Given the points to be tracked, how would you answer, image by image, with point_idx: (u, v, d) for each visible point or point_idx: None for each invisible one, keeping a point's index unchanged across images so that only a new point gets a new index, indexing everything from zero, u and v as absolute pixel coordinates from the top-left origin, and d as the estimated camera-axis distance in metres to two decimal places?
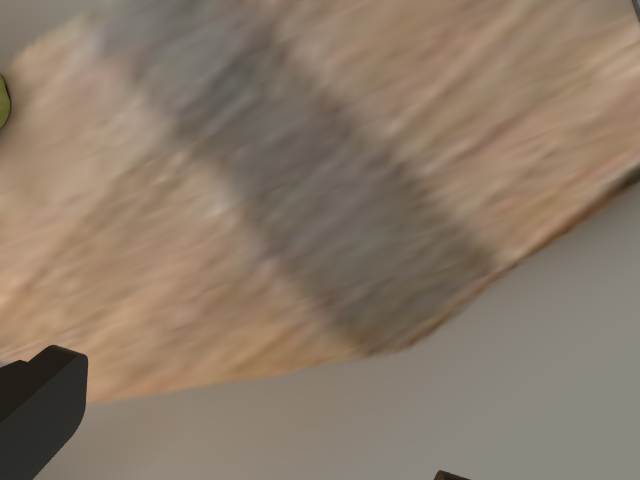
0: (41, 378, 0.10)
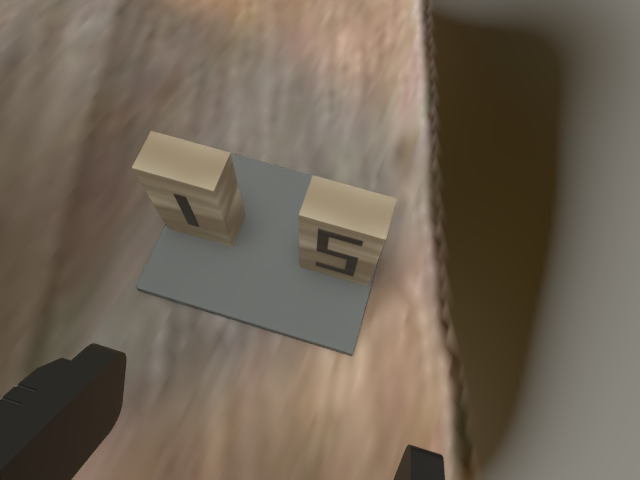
0: (86, 375, 0.10)
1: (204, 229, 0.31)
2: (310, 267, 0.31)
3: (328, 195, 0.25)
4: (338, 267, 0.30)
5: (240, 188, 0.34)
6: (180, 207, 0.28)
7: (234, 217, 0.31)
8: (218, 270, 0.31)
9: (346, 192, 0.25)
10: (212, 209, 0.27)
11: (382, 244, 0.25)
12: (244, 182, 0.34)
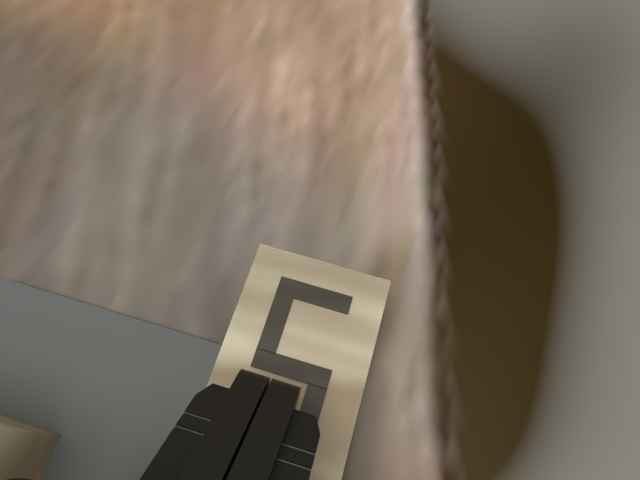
0: (249, 402, 0.10)
1: None
2: None
3: None
4: None
5: (59, 371, 0.17)
6: None
7: (2, 479, 0.14)
8: None
9: None
10: None
11: (384, 298, 0.16)
12: (70, 357, 0.17)
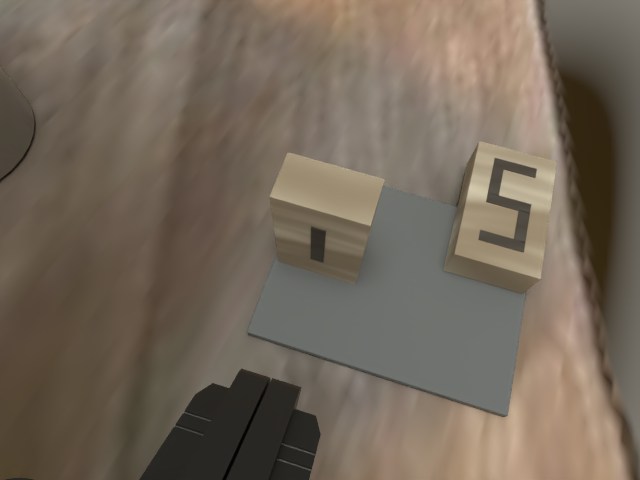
0: (248, 402, 0.10)
1: (328, 265, 0.26)
2: (469, 251, 0.26)
3: None
4: (506, 237, 0.26)
5: None
6: (311, 241, 0.24)
7: (364, 251, 0.26)
8: (341, 312, 0.27)
9: None
10: (355, 245, 0.23)
11: (554, 170, 0.28)
12: None
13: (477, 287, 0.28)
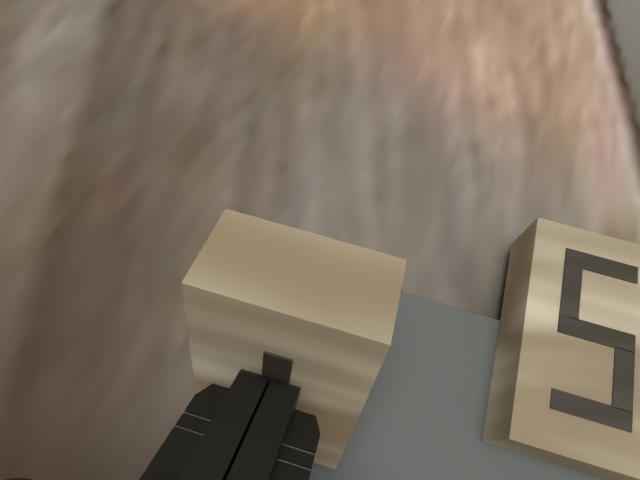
0: (249, 402, 0.10)
1: None
2: (535, 432, 0.15)
3: None
4: (597, 402, 0.15)
5: None
6: None
7: None
8: None
9: None
10: (349, 391, 0.12)
11: None
12: None
13: (541, 472, 0.16)
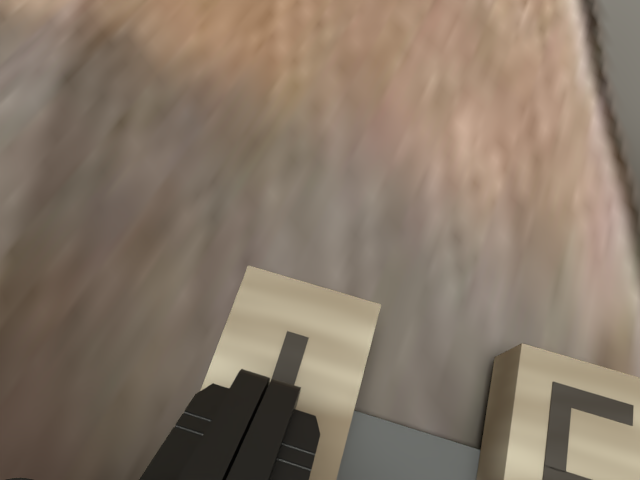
0: (249, 402, 0.10)
1: None
2: None
3: None
4: None
5: None
6: None
7: None
8: None
9: None
10: (348, 372, 0.15)
11: None
12: None
13: None
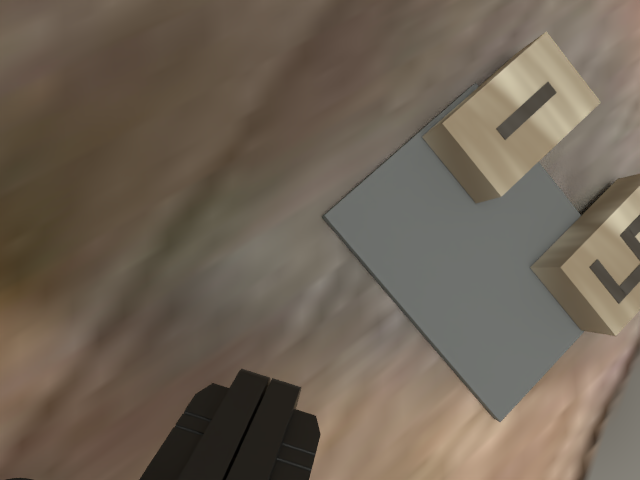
0: (249, 402, 0.10)
1: (504, 148, 0.24)
2: (574, 273, 0.24)
3: None
4: (613, 280, 0.25)
5: None
6: (527, 101, 0.24)
7: None
8: (418, 250, 0.25)
9: None
10: (565, 123, 0.25)
11: None
12: None
13: (548, 301, 0.27)
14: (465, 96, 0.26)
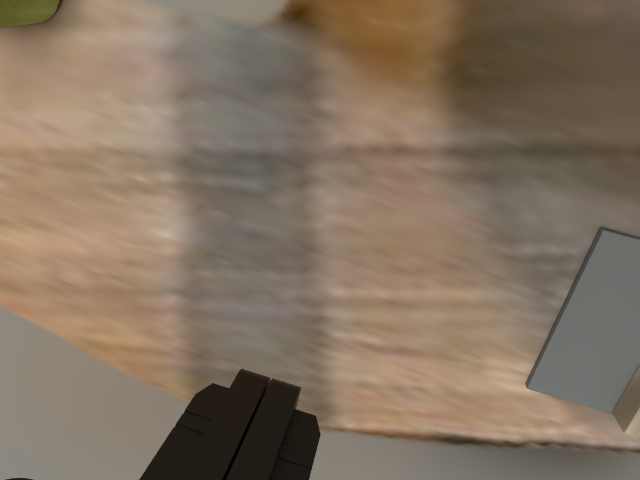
0: (249, 402, 0.10)
1: None
2: None
3: None
4: None
5: None
6: None
7: None
8: (612, 295, 0.36)
9: None
10: None
11: None
12: None
13: (621, 386, 0.38)
14: None
